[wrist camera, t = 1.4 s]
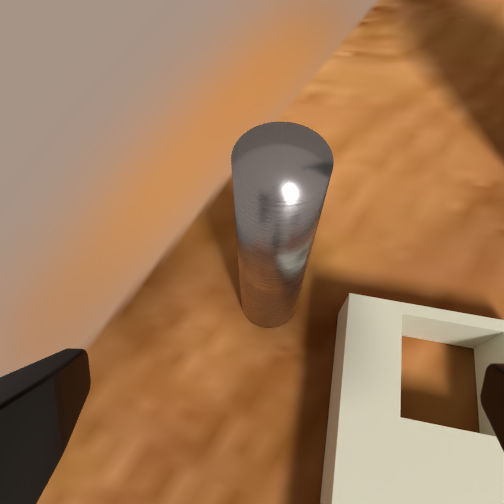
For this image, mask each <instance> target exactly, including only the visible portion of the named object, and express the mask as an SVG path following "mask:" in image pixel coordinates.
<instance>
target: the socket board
mask: <svg viewBox="0 0 504 504" xmlns="http://www.w3.org/2000/svg"><path fill="white" fill-rule="evenodd" d="M402 336H407V337H412V338H418V339H423V340H429V341H434V342H440V343H445V344H451V345H456V346H461V347H467V348H472V349H474V361H475V374H476V388H477V402H478V415H479V429H480V433H476V432H471V431H466V430H461V429H456V428H451V427H446V426H441V425H436V424H431V423H426V422H421V421H416V420H411V419H406V418H402V417H400V410H401V341H402ZM491 363H504V320H500V319H494V318H489V317H483V316H477V315H472V314H466V313H460V312H455V311H449V310H443V309H437V308H432V307H426V306H420V305H415V304H409V303H403V302H398V301H392V300H386V299H381V298H375V297H369V296H364V295H358V294H352V293H349V295H348V297H347V298H346V300H345V302H344V304H343V306H342V308H341V309H340V311H339V313H338V321H337V332H336V342H335V352H334V363H333V373H332V384H331V394H330V405H329V415H328V426H327V436H326V447H325V457H324V467H323V478H322V488H321V499H320V504H504V452H503V450H502V448H501V445H500V443H499V441H498V439H497V437H496V435H495V433H494V431H493V429H492V427H491V425H490V422H489V420H488V418H487V416H486V414H485V412H484V410H483V408H482V405H481V400H480V394H481V389H482V385H483V380H484V376H485V371H486V368H487V366H488V365H489V364H491Z"/></svg>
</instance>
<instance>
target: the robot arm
mask: <svg viewBox="0 0 504 504" xmlns="http://www.w3.org/2000/svg"><path fill="white" fill-rule="evenodd" d="M90 384H91V380H90V370H89V361H88V354H87V352H86V351H85V350H84V349H65V350H63V351H60V352H58V353H56V354H53V355H51V356H49V357H46V358H44V359H42V360H40V361H37V362H35V363H33V364H30V365H28V366H26V367H24V368H21V369H19V370H16V371H14V372H12V373H10V374H7V375H5V376H3V377H1V378H0V504H36V503H37V501H38V499H39V498H40V496H41V494H42V492H43V490H44V488H45V487H46V485H47V483H48V481H49V479H50V477H51V476H52V474H53V472H54V470H55V468H56V466H57V465H58V463H59V461H60V459H61V457H62V455H63V453H64V451H65V448H66V446H67V444H68V441H69V439H70V437H71V434H72V432H73V429H74V427H75V425H76V422H77V420H78V417H79V415H80V412H81V410H82V408H83V405H84V403H85V400H86V398H87V396H88V393H89V390H90ZM480 400H481V405H482V408H483V410H484V412H485V414H486V416H487V418H488V420H489V422H490V425H491V427H492V429H493V431H494V433H495V435H496V437H497V439H498V441H499V443H500V445H501V448H502V450H503V452H504V363H491V364H489V365H488V366H487V368H486V371H485V376H484V380H483V385H482V389H481V394H480Z"/></svg>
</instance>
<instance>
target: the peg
mask: <svg viewBox="0 0 504 504" xmlns="http://www.w3.org/2000/svg"><path fill="white" fill-rule="evenodd" d="M231 164H232V179H233V193H234V207H235V222H236V236H237V250H238V265H239V279H240V293H241V305H242V310H243V312H244V314H245V316H246V317H247V318H248V319H249V320H250V321H251V322H252V323H254V324H255V325H257V326H260V327H264V328H275V327H279V326H281V325H283V324H285V323H286V322H288V321H289V320H290V319H291V317H292V316H293V314H294V312H295V310H296V306H297V302H298V298H299V295H300V291H301V287H302V283H303V279H304V276H305V272H306V268H307V264H308V260H309V257H310V253H311V249H312V245H313V241H314V238H315V234H316V230H317V226H318V222H319V219H320V215H321V211H322V207H323V204H324V200H325V196H326V192H327V188H328V185H329V181H330V177H331V173H332V169H333V155H332V152H331V149H330V147H329V145H328V144H327V142H326V141H325V140H324V139H323V138H322V137H321V136H320V135H319V134H318V133H316V132H315V131H313V130H311V129H309V128H308V127H305V126H303V125H299V124H296V123H291V122H271V123H266V124H262V125H259V126H256V127H254V128H252V129H250V130H249V131H247V132H246V133H245V134H243V135H242V136H241V137H240V138H239V140H238V141H237V142H236V144H235V146H234V148H233V151H232V157H231Z"/></svg>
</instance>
